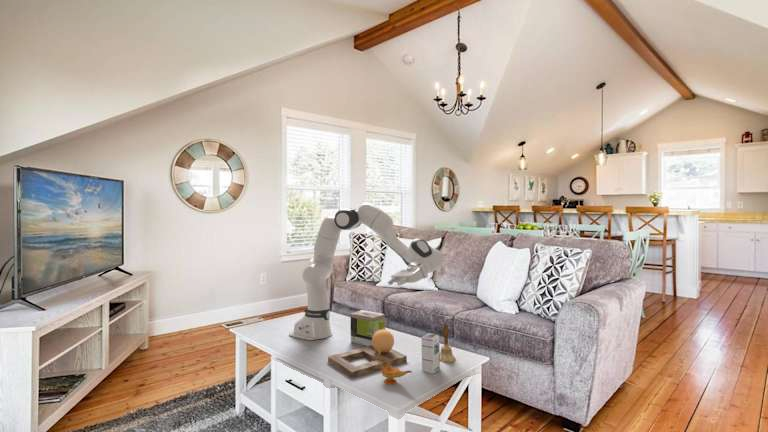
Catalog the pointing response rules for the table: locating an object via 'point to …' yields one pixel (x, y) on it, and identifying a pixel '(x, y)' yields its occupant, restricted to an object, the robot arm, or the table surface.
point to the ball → (383, 341)
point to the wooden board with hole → (369, 353)
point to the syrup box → (430, 353)
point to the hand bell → (446, 347)
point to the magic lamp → (391, 372)
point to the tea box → (366, 326)
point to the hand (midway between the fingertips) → (393, 283)
